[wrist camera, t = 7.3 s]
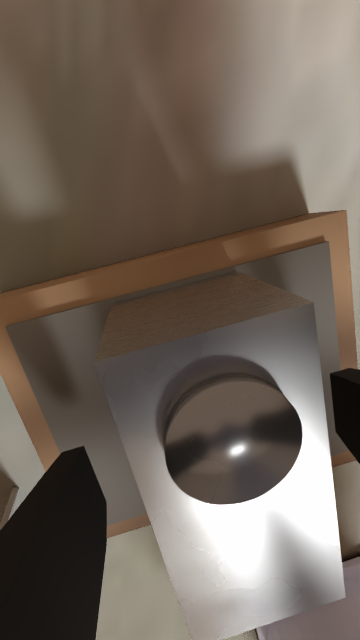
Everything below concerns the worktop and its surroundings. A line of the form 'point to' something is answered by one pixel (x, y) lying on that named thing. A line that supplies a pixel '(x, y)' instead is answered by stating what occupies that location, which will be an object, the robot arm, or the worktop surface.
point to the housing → (228, 447)
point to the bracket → (9, 507)
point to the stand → (143, 278)
